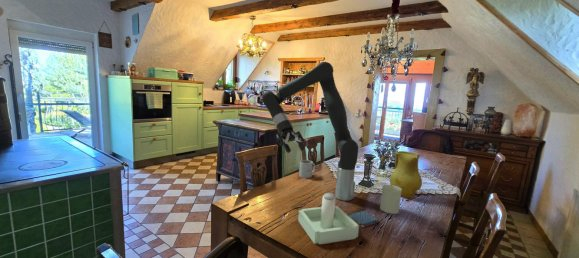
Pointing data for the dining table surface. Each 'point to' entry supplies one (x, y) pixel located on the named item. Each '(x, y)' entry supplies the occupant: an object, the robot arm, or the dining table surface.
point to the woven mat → (363, 218)
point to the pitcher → (406, 173)
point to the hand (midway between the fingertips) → (296, 151)
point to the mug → (306, 168)
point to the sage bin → (341, 229)
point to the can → (390, 199)
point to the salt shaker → (327, 211)
